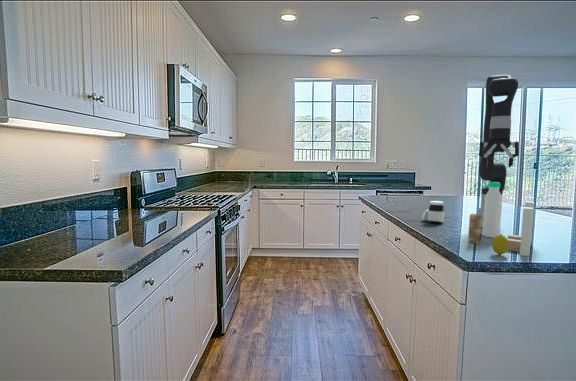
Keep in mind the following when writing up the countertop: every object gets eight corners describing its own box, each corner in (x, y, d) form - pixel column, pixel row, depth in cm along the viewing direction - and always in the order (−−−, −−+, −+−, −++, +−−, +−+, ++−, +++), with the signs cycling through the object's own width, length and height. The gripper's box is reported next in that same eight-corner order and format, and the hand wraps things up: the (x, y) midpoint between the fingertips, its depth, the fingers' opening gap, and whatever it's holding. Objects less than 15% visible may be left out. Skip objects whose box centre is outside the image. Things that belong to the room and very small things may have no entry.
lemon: (487, 253, 136) (489, 232, 135) (501, 252, 137) (502, 232, 136) (497, 257, 131) (498, 236, 130) (511, 257, 131) (513, 236, 130)
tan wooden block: (468, 242, 152) (469, 214, 151) (469, 240, 155) (471, 213, 154) (480, 244, 149) (481, 216, 148) (481, 242, 153) (483, 214, 151)
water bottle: (497, 235, 165) (501, 181, 162) (501, 238, 158) (505, 183, 155) (480, 234, 167) (484, 181, 164) (483, 237, 160) (487, 182, 157)
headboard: (504, 252, 137) (507, 206, 135) (508, 241, 154) (511, 200, 152) (529, 256, 132) (533, 208, 130) (530, 243, 150) (534, 201, 148)
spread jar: (441, 225, 187) (442, 203, 185) (419, 222, 193) (420, 201, 191) (445, 221, 197) (446, 200, 195) (424, 219, 203) (425, 199, 201)
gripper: (521, 127, 146) (518, 167, 148) (482, 128, 155) (480, 166, 156) (519, 126, 140) (517, 167, 142) (479, 128, 149) (477, 166, 150)
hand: (497, 166), depth 149 cm, fingers open, 8 cm apart
